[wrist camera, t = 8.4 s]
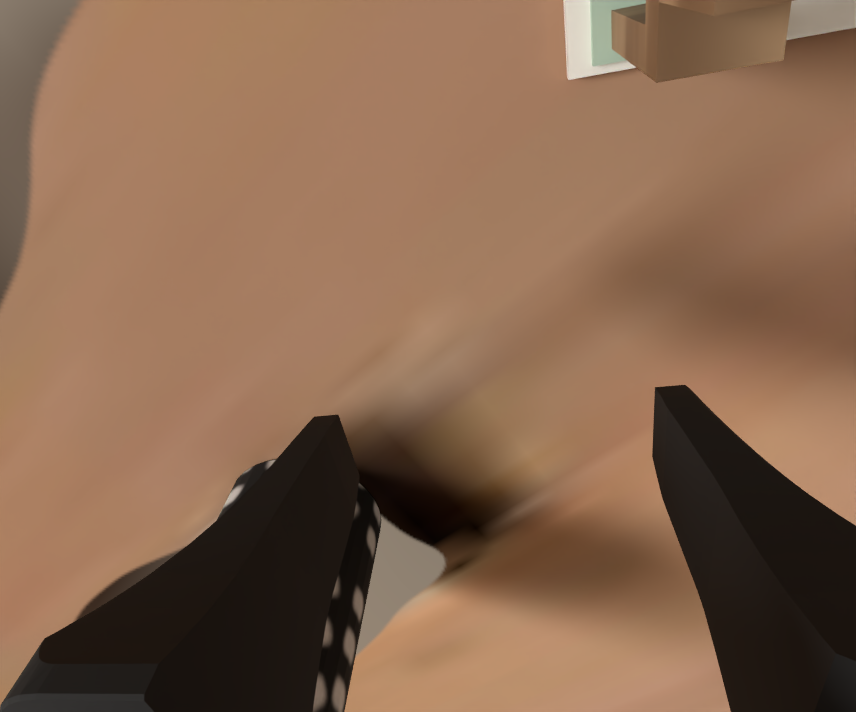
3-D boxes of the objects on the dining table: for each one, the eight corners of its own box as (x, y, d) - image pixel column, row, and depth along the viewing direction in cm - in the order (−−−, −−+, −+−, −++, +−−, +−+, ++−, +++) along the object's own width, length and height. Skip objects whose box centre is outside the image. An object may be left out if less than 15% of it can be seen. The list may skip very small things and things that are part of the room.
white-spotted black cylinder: (360, 452, 29) (181, 1116, 12) (395, 557, 33) (300, 1145, 17) (207, 463, 30) (-136, 1068, 14) (261, 562, 35) (52, 1106, 18)
